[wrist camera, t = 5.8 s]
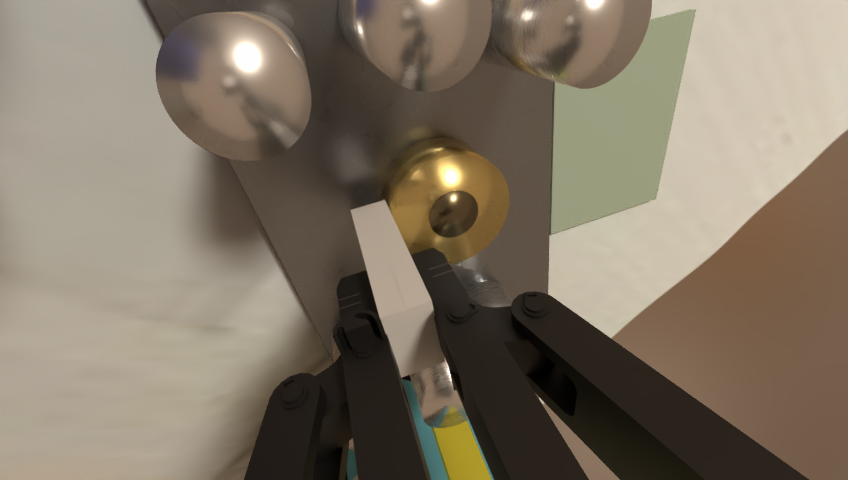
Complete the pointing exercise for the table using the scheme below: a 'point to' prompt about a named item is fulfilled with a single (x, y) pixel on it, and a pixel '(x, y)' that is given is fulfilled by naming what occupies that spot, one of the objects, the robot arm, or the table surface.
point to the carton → (441, 448)
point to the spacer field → (385, 121)
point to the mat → (617, 130)
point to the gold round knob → (446, 198)
